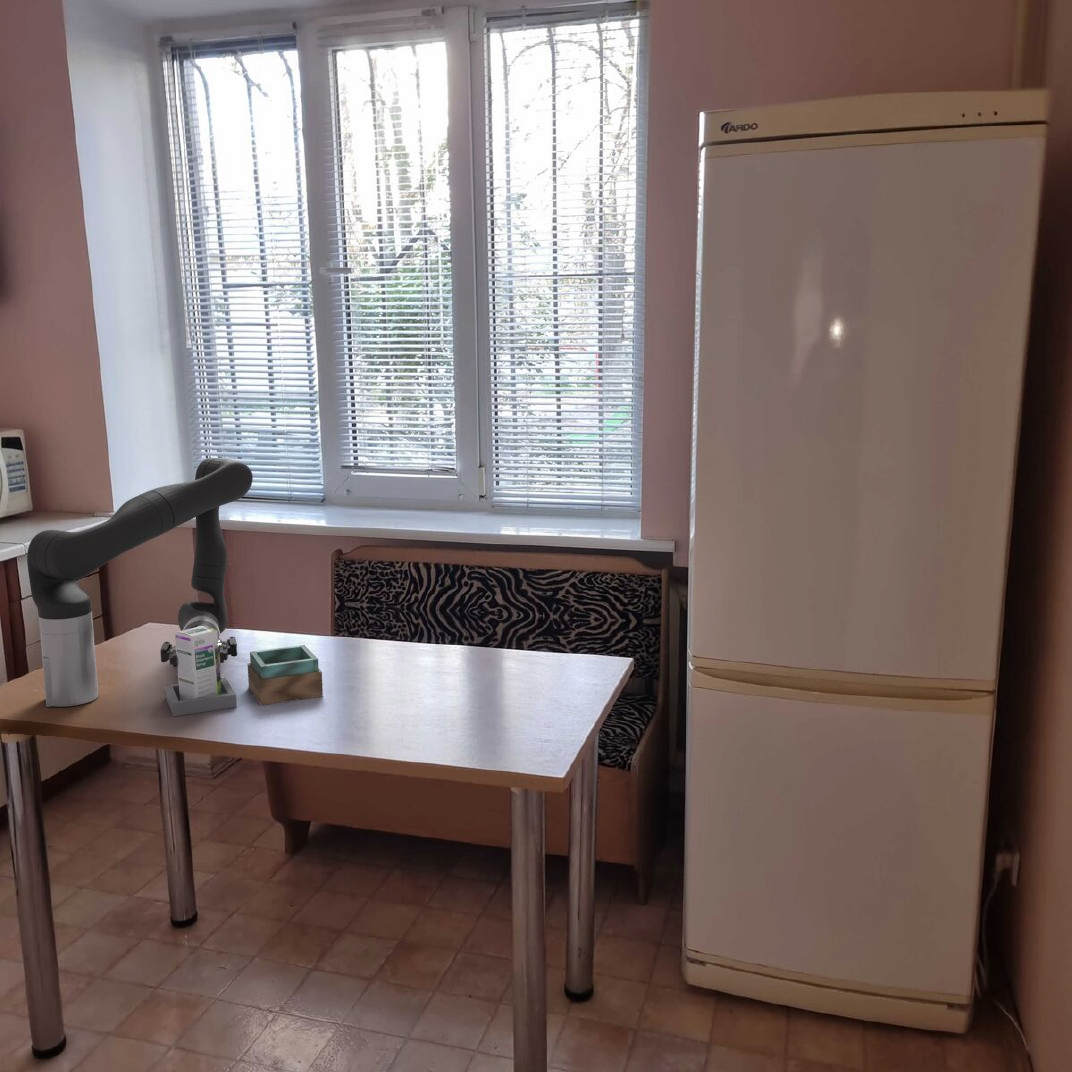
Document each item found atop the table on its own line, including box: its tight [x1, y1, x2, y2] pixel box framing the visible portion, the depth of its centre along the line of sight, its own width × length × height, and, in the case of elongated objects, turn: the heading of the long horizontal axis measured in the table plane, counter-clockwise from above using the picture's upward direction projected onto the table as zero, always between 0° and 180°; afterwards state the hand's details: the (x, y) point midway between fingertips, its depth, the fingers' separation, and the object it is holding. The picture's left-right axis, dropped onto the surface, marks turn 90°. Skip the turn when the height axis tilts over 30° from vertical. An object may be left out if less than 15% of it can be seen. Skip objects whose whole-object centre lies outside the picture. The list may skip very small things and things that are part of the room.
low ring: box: [164, 677, 238, 717], centre depth 186 cm, size 11×11×2 cm
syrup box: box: [174, 626, 222, 701], centre depth 185 cm, size 6×6×14 cm
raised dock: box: [247, 644, 324, 706], centre depth 192 cm, size 12×12×8 cm
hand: (198, 659), depth 185 cm, fingers open, 8 cm apart
